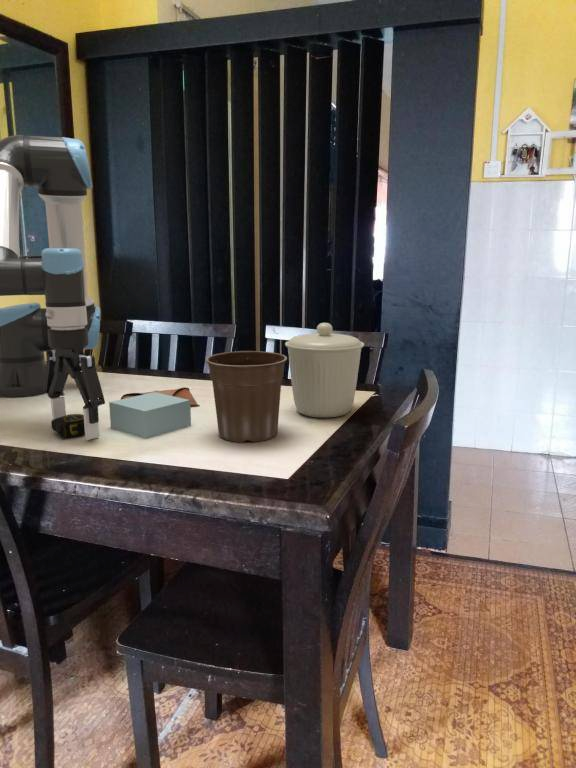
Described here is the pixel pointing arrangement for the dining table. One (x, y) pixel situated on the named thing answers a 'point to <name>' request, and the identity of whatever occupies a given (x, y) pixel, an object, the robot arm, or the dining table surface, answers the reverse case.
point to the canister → (324, 372)
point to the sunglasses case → (179, 393)
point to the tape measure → (69, 425)
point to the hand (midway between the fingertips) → (75, 432)
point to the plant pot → (247, 393)
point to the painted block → (150, 414)
